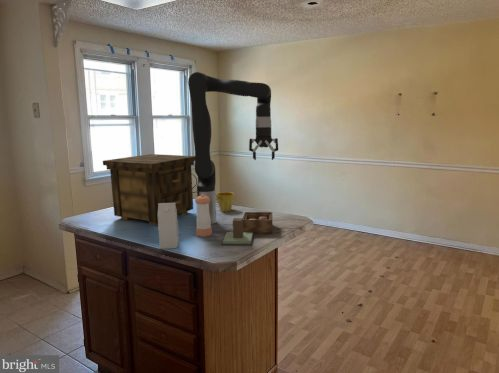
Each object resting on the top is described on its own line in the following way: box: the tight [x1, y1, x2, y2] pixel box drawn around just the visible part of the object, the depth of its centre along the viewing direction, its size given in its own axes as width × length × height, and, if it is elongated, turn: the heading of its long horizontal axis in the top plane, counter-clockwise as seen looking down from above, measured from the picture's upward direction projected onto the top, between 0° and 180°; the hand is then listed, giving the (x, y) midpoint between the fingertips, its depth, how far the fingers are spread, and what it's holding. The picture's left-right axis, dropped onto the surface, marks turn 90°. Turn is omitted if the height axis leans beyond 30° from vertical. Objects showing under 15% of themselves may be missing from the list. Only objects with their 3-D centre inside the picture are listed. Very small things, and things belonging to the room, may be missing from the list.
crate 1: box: [102, 153, 195, 226], centre depth 203 cm, size 35×35×33 cm
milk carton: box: [157, 203, 179, 250], centre depth 157 cm, size 7×7×19 cm
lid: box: [222, 217, 254, 244], centre depth 163 cm, size 12×12×9 cm
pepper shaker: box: [194, 194, 213, 238], centre depth 171 cm, size 7×7×19 cm
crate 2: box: [242, 211, 274, 235], centre depth 179 cm, size 14×14×7 cm
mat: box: [221, 234, 255, 246], centre depth 164 cm, size 13×13×1 cm
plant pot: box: [215, 191, 235, 212], centre depth 216 cm, size 10×10×10 cm
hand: (263, 159), depth 180 cm, fingers open, 8 cm apart
